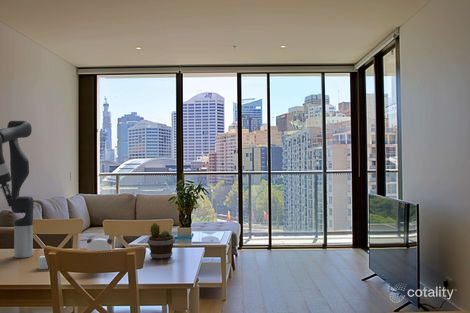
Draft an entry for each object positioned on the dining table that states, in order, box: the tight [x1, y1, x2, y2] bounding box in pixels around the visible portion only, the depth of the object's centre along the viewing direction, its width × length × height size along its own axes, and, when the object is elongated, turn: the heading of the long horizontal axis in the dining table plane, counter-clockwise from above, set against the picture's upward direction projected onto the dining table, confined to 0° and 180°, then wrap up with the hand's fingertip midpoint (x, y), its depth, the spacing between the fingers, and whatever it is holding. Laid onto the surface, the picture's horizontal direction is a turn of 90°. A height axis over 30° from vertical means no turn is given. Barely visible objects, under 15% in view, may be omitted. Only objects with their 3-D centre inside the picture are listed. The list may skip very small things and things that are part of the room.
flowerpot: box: [146, 221, 176, 261], centre depth 233 cm, size 14×15×20 cm
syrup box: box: [37, 254, 48, 270], centre depth 214 cm, size 6×6×14 cm
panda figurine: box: [86, 237, 114, 251], centre depth 208 cm, size 12×11×15 cm
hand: (11, 205), depth 215 cm, fingers closed
